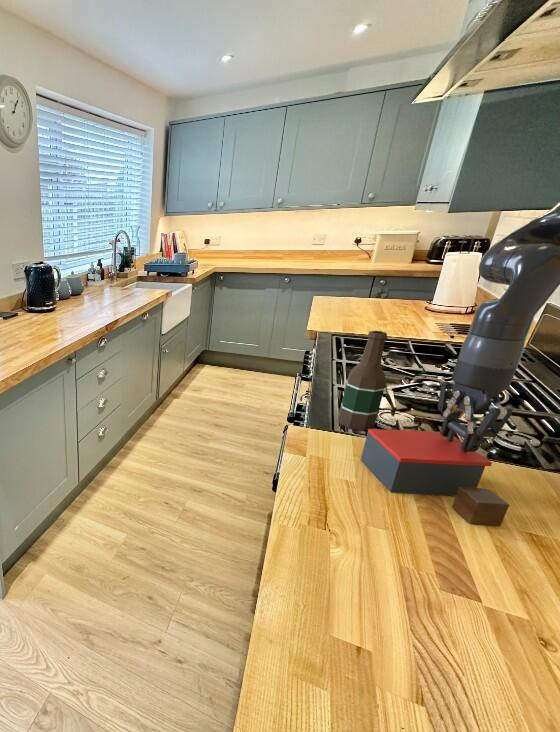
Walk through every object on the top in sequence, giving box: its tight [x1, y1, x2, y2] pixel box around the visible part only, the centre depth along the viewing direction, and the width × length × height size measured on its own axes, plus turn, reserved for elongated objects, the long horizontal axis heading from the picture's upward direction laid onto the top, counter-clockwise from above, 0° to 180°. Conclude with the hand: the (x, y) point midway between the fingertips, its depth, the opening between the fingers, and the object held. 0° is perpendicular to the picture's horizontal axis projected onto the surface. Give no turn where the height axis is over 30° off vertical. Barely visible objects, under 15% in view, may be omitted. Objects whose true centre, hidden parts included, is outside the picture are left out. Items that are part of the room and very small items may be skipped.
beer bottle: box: [338, 330, 388, 432], centre depth 101 cm, size 8×8×24 cm
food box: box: [360, 432, 486, 497], centre depth 83 cm, size 14×12×7 cm
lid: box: [367, 421, 493, 467], centre depth 80 cm, size 14×12×5 cm
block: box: [451, 487, 510, 527], centre depth 72 cm, size 4×4×4 cm
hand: (457, 442), depth 80 cm, fingers closed on lid, 5 cm apart
